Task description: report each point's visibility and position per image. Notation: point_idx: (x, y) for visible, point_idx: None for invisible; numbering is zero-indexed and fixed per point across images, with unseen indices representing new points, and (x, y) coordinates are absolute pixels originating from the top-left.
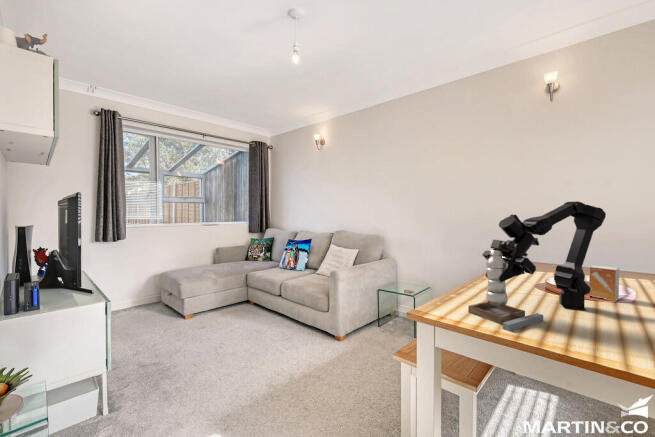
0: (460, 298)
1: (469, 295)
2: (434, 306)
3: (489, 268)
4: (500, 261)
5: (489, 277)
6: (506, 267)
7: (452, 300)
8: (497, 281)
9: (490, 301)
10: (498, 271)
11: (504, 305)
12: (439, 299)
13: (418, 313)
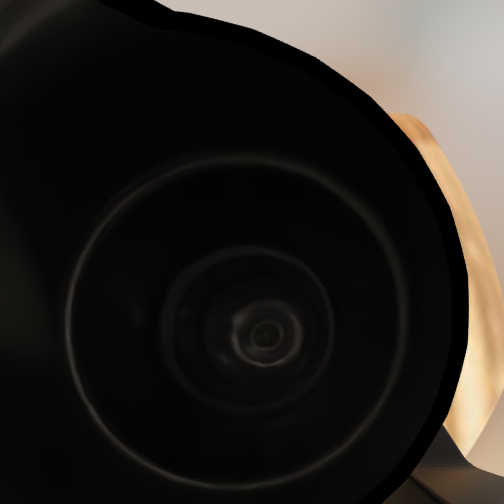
0: (472, 382)
1: (466, 446)
2: (451, 206)
3: (258, 167)
4: (20, 189)
5: (279, 243)
6: (57, 337)
7: (475, 329)
8: (206, 269)
9: (273, 283)
10: (146, 225)
11: (223, 332)
12: (497, 290)
13: (408, 121)
